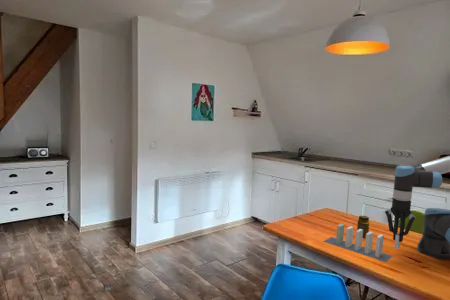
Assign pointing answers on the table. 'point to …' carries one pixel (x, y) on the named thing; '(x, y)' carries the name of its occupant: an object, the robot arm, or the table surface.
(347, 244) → the domino
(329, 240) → the mat
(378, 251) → the domino
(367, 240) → the domino
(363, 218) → the condiment
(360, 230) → the domino
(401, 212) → the robot arm
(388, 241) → the table surface
